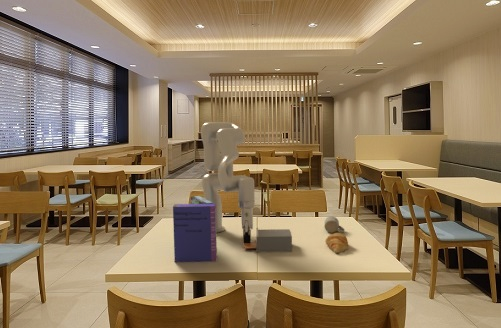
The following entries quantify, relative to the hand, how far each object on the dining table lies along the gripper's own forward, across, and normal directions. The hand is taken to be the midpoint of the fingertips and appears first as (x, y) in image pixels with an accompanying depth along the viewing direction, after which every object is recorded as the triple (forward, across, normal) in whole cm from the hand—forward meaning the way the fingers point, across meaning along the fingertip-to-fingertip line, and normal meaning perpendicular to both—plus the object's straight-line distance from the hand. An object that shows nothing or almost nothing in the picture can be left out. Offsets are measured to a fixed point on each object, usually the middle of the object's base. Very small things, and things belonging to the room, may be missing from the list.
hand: (247, 242), depth 173 cm
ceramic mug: (+3, +27, -46) cm, 54 cm away
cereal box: (+3, -16, +22) cm, 27 cm away
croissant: (+3, 0, -42) cm, 42 cm away
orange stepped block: (+2, 0, -6) cm, 7 cm away
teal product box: (+3, +2, +22) cm, 22 cm away
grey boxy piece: (+3, 0, -12) cm, 13 cm away
